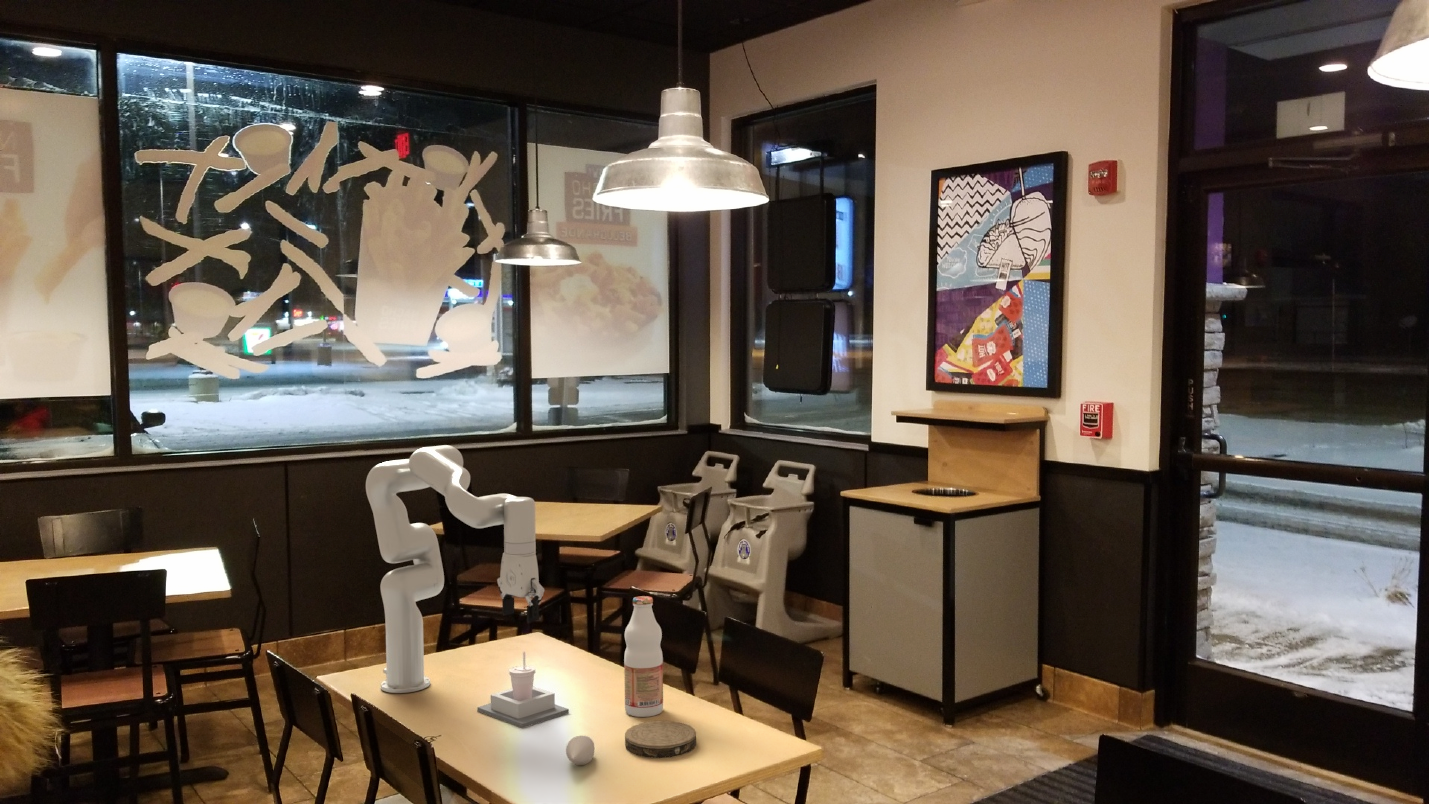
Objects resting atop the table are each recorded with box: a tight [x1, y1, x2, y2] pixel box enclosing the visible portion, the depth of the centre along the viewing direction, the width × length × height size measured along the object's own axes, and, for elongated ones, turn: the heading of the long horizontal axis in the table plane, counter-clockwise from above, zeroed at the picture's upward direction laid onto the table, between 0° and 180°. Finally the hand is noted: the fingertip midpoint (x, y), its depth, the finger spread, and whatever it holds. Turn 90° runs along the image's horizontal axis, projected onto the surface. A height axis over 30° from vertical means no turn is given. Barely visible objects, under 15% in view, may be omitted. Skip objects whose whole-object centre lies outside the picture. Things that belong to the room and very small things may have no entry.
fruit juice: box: [623, 595, 664, 718], centre depth 262 cm, size 9×9×28 cm
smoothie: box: [508, 651, 536, 701], centre depth 262 cm, size 6×6×14 cm
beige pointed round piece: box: [565, 735, 596, 766], centre depth 228 cm, size 6×6×15 cm
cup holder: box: [476, 685, 570, 729], centre depth 262 cm, size 18×14×4 cm
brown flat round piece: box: [624, 720, 697, 759], centre depth 240 cm, size 16×16×3 cm
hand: (520, 617), depth 262 cm, fingers open, 9 cm apart
